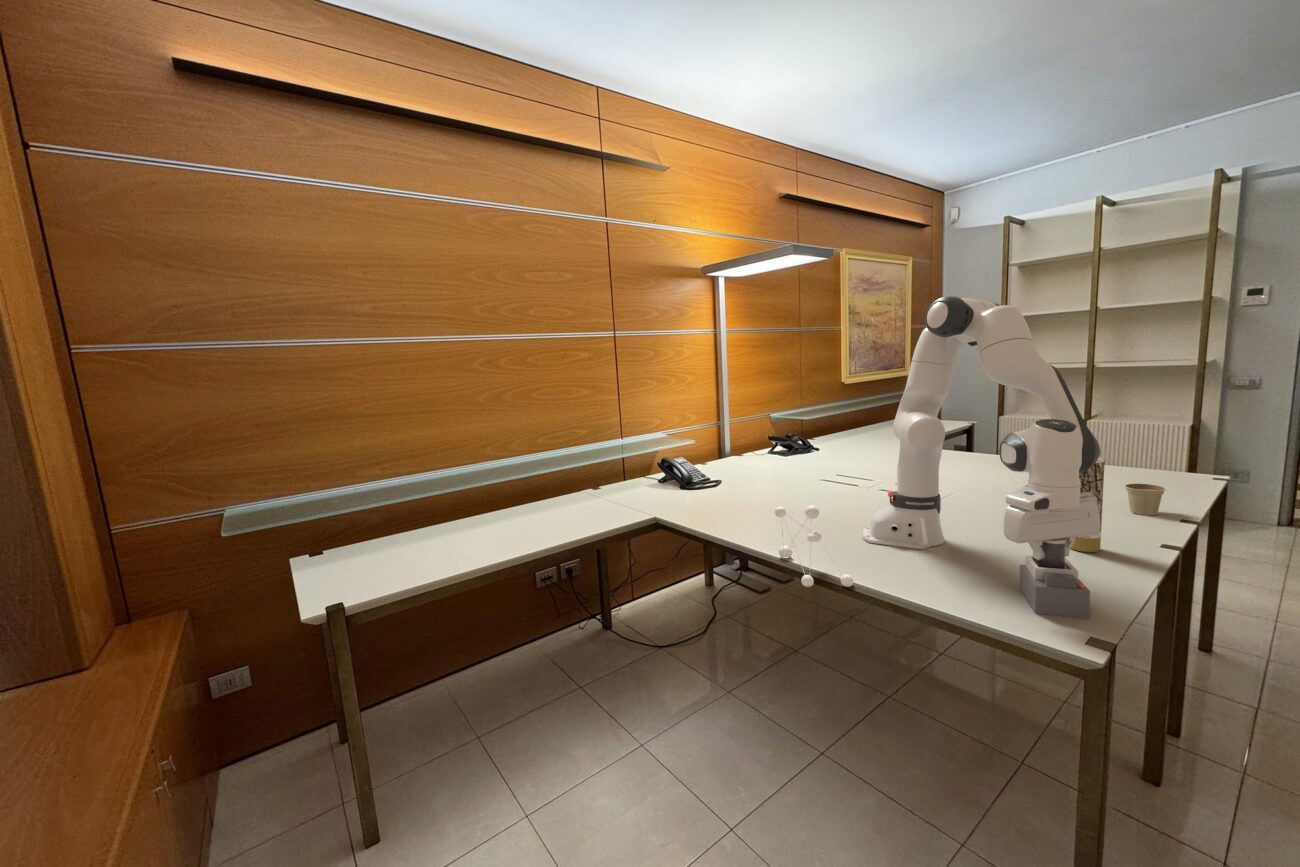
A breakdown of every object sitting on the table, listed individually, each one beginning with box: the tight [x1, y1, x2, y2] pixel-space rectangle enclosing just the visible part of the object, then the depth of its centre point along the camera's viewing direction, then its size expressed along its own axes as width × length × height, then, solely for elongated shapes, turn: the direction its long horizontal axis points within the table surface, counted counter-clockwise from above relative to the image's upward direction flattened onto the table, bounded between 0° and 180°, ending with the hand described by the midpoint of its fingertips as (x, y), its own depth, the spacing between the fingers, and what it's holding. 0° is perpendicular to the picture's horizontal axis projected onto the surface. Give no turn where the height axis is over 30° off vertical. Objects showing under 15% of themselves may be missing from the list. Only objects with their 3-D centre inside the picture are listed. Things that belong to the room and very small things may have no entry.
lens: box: [1039, 538, 1066, 569], centre depth 110 cm, size 5×5×7 cm
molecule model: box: [774, 505, 854, 588], centre depth 134 cm, size 14×25×18 cm, turn 11°
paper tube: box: [1070, 457, 1106, 554], centre depth 136 cm, size 7×7×25 cm
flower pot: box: [1124, 482, 1167, 517], centre depth 161 cm, size 9×9×9 cm
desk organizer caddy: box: [1018, 555, 1091, 620], centre depth 110 cm, size 12×9×8 cm
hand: (1050, 557), depth 110 cm, fingers closed on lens, 4 cm apart
